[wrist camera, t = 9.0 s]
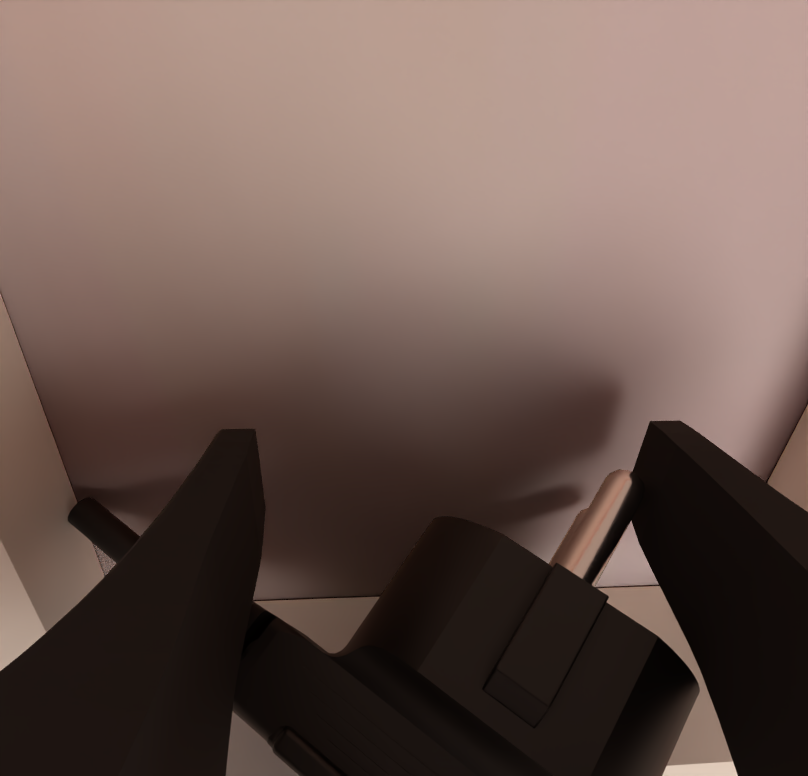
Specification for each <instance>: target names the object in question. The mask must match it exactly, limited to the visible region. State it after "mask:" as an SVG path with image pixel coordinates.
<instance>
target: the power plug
mask: <svg viewBox="0 0 808 776" xmlns="http://www.w3.org/2000/svg"><path fill="white" fill-rule="evenodd" d="M644 492H645V487H644V483H643V481H642V480H641V479H640V478H639V476H638V475H636V474H635V473H633V472H632V471H629V470H621V469H619V470H616V471H614V472H612V473H610V474H609V475H608V476H607V477H606V478H605V480H604V482H603V483H602V485H601V487H600V488H599V490H598V492H597V494H596V495H595V497H594V499H593V500H592V502H591V504H590V506H589V507H588V508H586V509H584V510H581V511H580V512H579V513H578V515H577V516H576V518H575V520H574V521H573V523H572V525H571V527H570V528H569V530H568V532H567V533H566V535H565V537H564V538H563V540H562V542H561V544H560V545H559V547H558V549H557V550H556V552H555V554H554V555H553V557H552V559H551V561H550V562H549V564H548V563H546V562H545V561H543V560H541V559H540V558H538V557H537V556H535V555H534V554H532V553H531V552H529V551H528V550H526V549H525V548H523V547H522V546H520V545H519V544H517V543H516V542H514V541H513V540H511V539H509V538H508V537H506V536H505V535H503V534H501V533H499V532H496V531H494V530H492V529H489V528H487V527H484V526H482V525H479V524H476V523H473V522H470V521H467V520H464V519H460V518H455V517H448V516H441V517H437V518H435V519H434V520H433V521H432V522H431V523H430V525H429V526H428V528H427V529H426V531H425V532H424V534H423V535H422V536H421V538H420V539H419V541H418V542H417V544H416V545H415V547H414V548H413V550H412V551H411V552H410V554H409V555H408V557H407V558H406V560H405V561H404V563H403V564H402V566H401V567H400V568H399V570H398V571H397V573H396V574H395V576H394V577H393V579H392V580H391V581H390V583H389V584H388V586H387V587H386V589H385V590H384V592H383V593H382V595H381V596H380V597H379V599H378V600H377V602H376V603H375V605H374V606H373V608H372V609H371V611H370V612H369V613H368V615H367V616H366V618H365V619H364V621H363V622H362V624H361V625H360V627H359V628H358V629H357V631H356V632H355V634H354V635H353V637H352V638H351V640H350V641H349V643H348V644H347V645H346V646H345V647H344V648H343V650H341V651H339V652H337V653H328V652H327V651H325V650H324V649H323V648H322V647H320V646H319V645H318V644H316V643H315V642H314V641H313V640H311V639H310V638H309V637H308V636H306V635H305V634H303V633H302V632H300V631H299V630H297V629H296V628H294V627H292V626H291V625H289V624H288V623H286V622H284V621H283V620H282V619H280V618H278V617H277V616H275V615H274V614H272V613H271V612H269V611H267V610H266V609H264V608H262V607H261V606H260V605H258V604H257V603H255V602H254V601H252V606H251V611H250V616H249V621H248V625H247V630H246V635H245V640H244V645H243V650H242V655H241V659H240V664H239V669H238V675H237V681H236V687H235V694H234V702H233V712H234V713H235V714H236V715H237V716H238V717H240V718H241V719H242V720H243V721H244V722H245V723H246V724H247V725H249V726H250V727H251V728H252V729H253V730H254V731H255V732H257V733H258V734H259V735H260V736H261V737H262V738H263V739H264V740H266V741H267V743H268V745H269V746H270V747H271V748H272V751H273V753H274V754H275V755H276V756H277V757H278V758H280V759H281V760H282V761H283V762H284V763H285V764H286V765H287V766H289V767H290V768H291V769H292V770H293V771H294V772H295V773H296V774H298V775H299V776H662V775H663V773H664V771H665V768H666V766H667V764H668V762H669V759H670V757H671V755H672V752H673V750H674V748H675V746H676V743H677V741H678V739H679V737H680V734H681V732H682V730H683V728H684V725H685V723H686V721H687V719H688V716H689V714H690V712H691V710H692V708H693V705H694V703H695V701H696V699H697V697H698V695H699V692H700V688H699V684H698V682H697V680H696V678H695V676H694V674H693V673H692V671H691V670H690V669H689V668H688V666H687V665H686V664H685V663H684V661H683V660H682V659H681V658H680V657H679V656H678V655H677V654H676V653H675V652H674V651H673V650H672V649H671V648H670V647H669V646H668V645H667V644H666V643H665V642H664V641H663V640H662V639H661V638H660V637H659V636H657V635H656V634H654V633H653V632H651V631H650V630H648V629H647V628H645V627H644V626H642V625H641V624H639V623H638V622H636V621H634V620H633V619H631V618H630V617H628V616H627V615H625V614H624V613H622V612H621V611H619V610H618V609H616V608H615V607H613V606H612V605H610V604H609V603H607V600H608V598H609V596H608V595H606V594H605V593H603V592H602V591H600V590H599V589H597V588H595V585H596V584H597V582H598V580H599V578H600V576H601V575H602V573H603V571H604V569H605V567H606V565H607V564H608V562H609V560H610V558H611V556H612V554H613V553H614V551H615V549H616V547H617V545H618V543H619V542H620V540H621V538H622V536H623V534H624V532H625V531H626V529H627V527H628V525H629V523H630V521H631V520H632V518H633V516H634V514H635V512H636V511H637V509H638V507H639V505H640V503H641V501H642V500H643V496H644ZM68 522H69V523H70V524H71V525H73V526H74V527H75V528H76V529H77V530H78V531H80V532H81V533H82V534H83V535H84V536H86V537H87V538H88V539H89V540H90V541H91V542H93V543H94V544H95V545H96V546H97V547H98V548H100V549H101V550H102V551H103V552H104V553H106V554H107V555H108V556H109V557H110V558H111V559H113V560H114V561H115V562H116V563H118V562H119V561H120V560H121V559H122V558H123V556H124V555H125V554H126V553H127V552H128V551H129V550H130V549H131V547H132V546H133V545H134V544H135V543H136V541H137V540H138V539H139V538H140V536H139V535H138V534H136V533H135V532H134V531H133V530H131V529H130V528H129V527H128V526H127V525H125V524H124V523H123V522H122V521H120V520H119V519H118V518H117V517H116V516H114V515H113V514H112V513H111V512H109V511H108V510H107V509H106V508H105V507H103V506H102V505H101V504H100V503H98V502H97V501H96V500H95V499H94V498H86V499H83V500H81V501H80V502H78V503H77V504H76V505H75V506H74V507H73V508H72V510H71V511H70V513H69V515H68Z"/></svg>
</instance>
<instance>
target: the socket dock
mask: <svg viewBox="0 0 808 776" xmlns="http://www.w3.org/2000/svg"><path fill="white" fill-rule="evenodd" d="M767 484H769V485H770V486H771V487H773V488H774V489H776V490H777V491H778V492H780V493H781V494H783V495H784V496H785V497H787V498H788V499H790V500H791V501H793V502H794V503H795V504H797V505H798V506H800V507H801V508H803V509H804V510H806V511H807V512H808V405H807V407H806V409H805V411H804V413H803V415H802V417H801V419H800V421H799V422H798V424H797V426H796V428H795V430H794V432H793V434H792V436H791V438H790V440H789V442H788V444H787V446H786V448H785V449H784V451H783V453H782V455H781V457H780V459H779V461H778V463H777V465H776V467H775V469H774V471H773V473H772V475H771V476H770V478H769V480H768V482H767ZM76 504H77V500H76V498H75V495H74V492H73V489H72V487H71V484H70V481H69V478H68V476H67V473H66V470H65V468H64V465H63V462H62V459H61V457H60V454H59V451H58V449H57V446H56V443H55V440H54V438H53V435H52V432H51V430H50V427H49V424H48V421H47V419H46V416H45V413H44V410H43V408H42V405H41V402H40V400H39V397H38V394H37V391H36V389H35V386H34V383H33V381H32V378H31V375H30V372H29V370H28V367H27V364H26V362H25V359H24V356H23V353H22V351H21V348H20V345H19V342H18V340H17V337H16V334H15V332H14V329H13V326H12V323H11V321H10V318H9V315H8V313H7V310H6V307H5V304H4V302H3V299H2V296H1V294H0V671H1V670H2V669H3V668H5V667H6V666H7V665H8V664H10V663H11V662H12V661H13V660H15V659H16V658H17V657H18V656H20V655H21V654H22V653H23V652H24V651H26V650H27V649H28V648H29V647H30V646H31V645H33V644H34V643H35V642H36V641H37V640H38V639H39V638H41V637H42V636H43V635H44V634H45V633H46V632H47V631H48V630H50V629H51V628H52V627H53V626H54V625H55V624H56V623H57V622H58V621H59V620H60V619H61V618H63V617H64V616H65V615H66V614H67V613H68V612H69V611H70V610H71V609H72V608H73V607H75V606H76V605H77V604H78V603H79V602H80V601H81V600H82V599H83V598H84V597H85V596H86V595H87V594H88V593H89V592H90V591H91V590H92V589H93V588H94V587H95V586H96V585H97V584H98V583H99V582H100V581H101V580H102V579H103V578H104V577H105V576H104V574H103V571H102V568H101V566H100V563H99V560H98V557H97V555H96V552H95V549H94V546H93V544H92V542H91V541H90V540H89V539H88V538H87V537H86V536H84V535H83V534H82V533H81V532H80V531H78V530H77V529H76V528H75V527H74V526H73V525H71V524H70V523H69V522H68V515H69V513H70V511H71V510H72V508H73V507H74V506H75V505H76ZM597 589H599V590H600V591H602V592H603V593H605V594H606V595H608V596H609V598H608V600H607V603H609V604H610V605H612V606H613V607H615V608H616V609H618V610H619V611H621V612H622V613H624V614H625V615H627V616H628V617H630V618H631V619H633V620H634V621H636V622H638V623H639V624H641V625H642V626H644V627H645V628H647V629H648V630H650V631H651V632H653V633H654V634H656V635H657V636H659V637H660V638H661V639H662V640H663V641H664V642H665V643H666V644H667V645H668V646H669V647H670V648H671V649H672V650H673V651H674V652H675V653H676V654H677V655H678V656H679V657H680V658H681V659H682V660H683V661H684V663H685V664H686V665H687V666H688V668H689V669H690V670H691V671H692V673H693V674H694V676H695V678H696V680H697V682H698V684H699V688H700V692H699V695H698V697H697V699H696V701H695V703H694V705H693V708H692V710H691V712H690V714H689V716H688V719H687V721H686V723H685V725H684V728H683V730H682V732H681V734H680V737H679V739H678V741H677V743H676V746H675V748H674V750H673V752H672V755H671V757H670V759H669V762H668V764H667V766H666V768H665V771H664V773H663V775H662V776H738V775H737V772H736V769H735V766H734V763H733V760H732V757H731V754H730V751H729V748H728V745H727V743H726V740H725V737H724V734H723V731H722V728H721V725H720V722H719V719H718V717H717V714H716V711H715V709H714V706H713V703H712V700H711V698H710V695H709V692H708V690H707V687H706V684H705V682H704V679H703V676H702V674H701V671H700V669H699V666H698V664H697V662H696V660H695V657H694V655H693V653H692V651H691V648H690V646H689V644H688V642H687V640H686V638H685V636H684V634H683V632H682V630H681V628H680V626H679V624H678V622H677V620H676V618H675V616H674V614H673V612H672V610H671V608H670V606H669V604H668V602H667V600H666V597H665V595H664V593H663V591H662V589H661V587H660V586H647V587H620V588H597ZM378 599H379V597H356V598H329V599H303V600H276V601H254V602H255V603H257V604H258V605H260V606H261V607H262V608H264V609H266V610H267V611H269V612H271V613H272V614H274V615H275V616H277V617H278V618H280V619H282V620H283V621H284V622H286V623H288V624H289V625H291V626H292V627H294V628H296V629H297V630H299V631H300V632H302V633H303V634H305V635H306V636H308V637H309V638H310V639H311V640H313V641H314V642H315V643H316V644H318V645H319V646H320V647H322V648H323V649H324V650H325V651H327V652H328V653H337V652H339V651H341V650H343V648H344V647H345V646H346V645H347V644H348V643H349V641H350V640H351V638H352V637H353V635H354V634H355V632H356V631H357V629H358V628H359V627H360V625H361V624H362V622H363V621H364V619H365V618H366V616H367V615H368V613H369V612H370V611H371V609H372V608H373V606H374V605H375V603H376V602H377V600H378ZM226 776H299V775H298V774H296V773H295V772H294V771H293V770H292V769H291V768H290V767H289V766H287V765H286V764H285V763H284V762H283V761H282V760H281V759H280V758H278V757H277V756H276V755H275V754H274V753H273V751H272V748H271V747H270V746H269V745H268V743H267V741H266V740H264V739H263V738H262V737H261V736H260V735H259V734H258V733H257V732H255V731H254V730H253V729H252V728H251V727H250V726H249V725H247V724H246V723H245V722H244V721H243V720H242V719H241V718H240V717H238V716H237V715H236V714H235V713H234V712H233V711H232V720H231V729H230V738H229V748H228V758H227V768H226Z"/></svg>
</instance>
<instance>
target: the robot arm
mask: <svg viewBox="0 0 808 776" xmlns="http://www.w3.org/2000/svg"><path fill="white" fill-rule="evenodd" d="M633 473H635V474H636V475H638V476H639V478H640V479H641V480H642V481H643V483H644V487H645V492H644V496H643V500H642V501H641V503H640V505H639V507H638V509H637V511H636V512H635V514H634V516H633V518H632V520H631V521H632V524H633V526H634V529H635V532H636V535H637V538H638V541H639V544H640V546H641V548H642V550H643V552H644V554H645V556H646V559H647V561H648V563H649V565H650V567H651V569H652V571H653V573H654V575H655V577H656V579H657V581H658V583H659V585H660V587H661V589H662V591H663V593H664V595H665V597H666V600H667V602H668V604H669V606H670V608H671V610H672V612H673V614H674V616H675V618H676V620H677V622H678V624H679V626H680V628H681V630H682V632H683V634H684V636H685V638H686V640H687V642H688V644H689V646H690V648H691V651H692V653H693V655H694V657H695V660H696V662H697V664H698V666H699V669H700V671H701V674H702V676H703V679H704V682H705V684H706V687H707V690H708V692H709V695H710V698H711V700H712V703H713V706H714V709H715V711H716V714H717V717H718V719H719V722H720V725H721V728H722V731H723V734H724V737H725V740H726V743H727V745H728V748H729V751H730V754H731V757H732V760H733V763H734V766H735V769H736V772H737V775H738V776H808V512H807V511H806V510H804V509H803V508H801V507H800V506H798V505H797V504H795V503H794V502H793V501H791V500H790V499H788V498H787V497H785V496H784V495H783V494H781V493H780V492H778V491H777V490H776V489H774V488H773V487H771V486H770V485H769V484H767V483H766V482H764V481H763V480H762V479H760V478H759V477H758V476H756V475H755V474H754V473H752V472H751V471H749V470H748V469H747V468H745V467H744V466H743V465H741V464H740V463H739V462H737V461H736V460H735V459H733V458H732V457H731V456H729V455H728V454H727V453H725V452H724V451H723V450H721V449H720V448H718V447H717V446H716V445H714V444H713V443H712V442H710V441H709V440H708V439H706V438H705V437H703V436H702V435H701V434H699V433H698V432H696V431H695V430H694V429H692V428H691V427H689V426H688V425H686V424H685V423H683V422H682V421H650V423H649V426H648V429H647V432H646V435H645V437H644V440H643V443H642V446H641V449H640V452H639V455H638V458H637V461H636V464H635V466H634V469H633ZM264 520H265V499H264V492H263V484H262V476H261V469H260V461H259V453H258V446H257V438H256V430H255V429H222V430H221V431H219V432H218V433H217V434H216V435H215V437H214V439H213V440H212V442H211V443H210V445H209V446H208V448H207V449H206V451H205V453H204V454H203V456H202V457H201V459H200V460H199V461H198V463H197V464H196V466H195V467H194V469H193V470H192V471H191V473H190V474H189V476H188V477H187V478H186V480H185V481H184V483H183V484H182V485H181V487H180V488H179V489H178V491H177V492H176V493H175V495H174V496H173V497H172V498H171V500H170V501H169V502H168V504H167V505H166V506H165V508H164V509H163V510H162V512H161V513H160V514H159V515H158V517H157V518H156V519H155V520H154V522H153V523H152V524H151V525H150V526H149V527H148V529H147V530H146V531H145V532H144V533H143V534H142V536H141V537H140V538H139V539H138V540H137V541H136V543H135V544H134V545H133V546H132V547H131V549H130V550H129V551H128V552H127V553H126V554H125V555H124V556H123V558H122V559H121V560H120V561H119V562H118V563H117V564H116V565H115V566H114V567H113V568H112V569H111V571H110V572H109V573H108V574H107V575H106V576H105V577H104V578H103V579H102V580H101V581H100V582H99V583H98V584H97V585H96V586H95V587H94V588H93V589H92V590H91V591H90V592H89V593H88V594H87V595H86V596H85V597H84V598H83V599H82V600H81V601H80V602H79V603H78V604H77V605H76V606H75V607H73V608H72V609H71V610H70V611H69V612H68V613H67V614H66V615H65V616H64V617H63V618H61V619H60V620H59V621H58V622H57V623H56V624H55V625H54V626H53V627H52V628H51V629H50V630H48V631H47V632H46V633H45V634H44V635H43V636H42V637H41V638H39V639H38V640H37V641H36V642H35V643H34V644H33V645H31V646H30V647H29V648H28V649H27V650H26V651H24V652H23V653H22V654H21V655H20V656H18V657H17V658H16V659H15V660H13V661H12V662H11V663H10V664H8V665H7V666H6V667H5V668H3V669H2V670H1V671H0V776H226V768H227V758H228V748H229V738H230V729H231V720H232V711H233V702H234V694H235V687H236V681H237V675H238V669H239V664H240V659H241V655H242V650H243V645H244V640H245V635H246V630H247V625H248V621H249V616H250V611H251V606H252V601H253V596H254V591H255V586H256V581H257V576H258V571H259V566H260V561H261V555H262V544H263V533H264Z"/></svg>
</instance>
